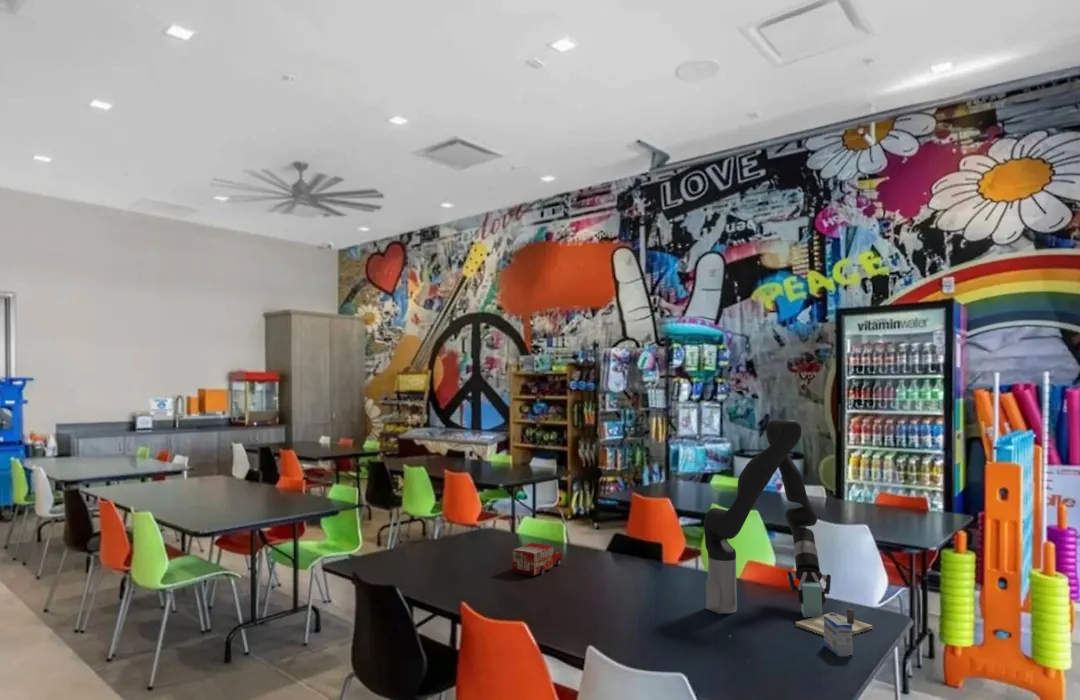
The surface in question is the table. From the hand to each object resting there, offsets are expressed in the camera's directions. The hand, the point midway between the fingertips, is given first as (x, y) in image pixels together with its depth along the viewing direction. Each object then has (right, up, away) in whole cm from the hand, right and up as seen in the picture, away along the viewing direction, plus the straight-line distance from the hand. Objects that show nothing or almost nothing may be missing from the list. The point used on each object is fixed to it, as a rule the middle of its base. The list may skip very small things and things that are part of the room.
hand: (812, 603), depth 217 cm
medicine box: (-4, -3, -28) cm, 28 cm away
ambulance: (-89, -8, +56) cm, 106 cm away
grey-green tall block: (0, -4, +2) cm, 5 cm away
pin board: (+3, -4, -10) cm, 11 cm away
